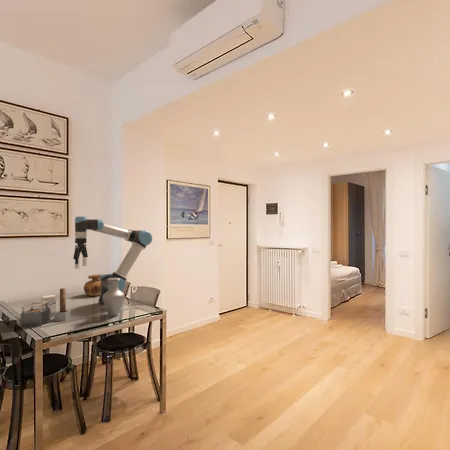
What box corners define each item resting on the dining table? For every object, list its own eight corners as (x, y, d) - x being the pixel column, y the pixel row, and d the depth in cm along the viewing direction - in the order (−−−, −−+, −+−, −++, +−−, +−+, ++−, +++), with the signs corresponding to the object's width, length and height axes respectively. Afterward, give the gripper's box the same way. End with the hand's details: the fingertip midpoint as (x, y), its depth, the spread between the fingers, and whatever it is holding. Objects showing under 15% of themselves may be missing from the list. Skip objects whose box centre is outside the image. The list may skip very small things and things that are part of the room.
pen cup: (70, 317, 212) (70, 309, 212) (65, 320, 205) (65, 312, 205) (59, 317, 211) (59, 310, 211) (54, 320, 204) (54, 313, 204)
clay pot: (94, 295, 267) (88, 272, 271) (82, 301, 276) (76, 279, 280) (113, 291, 283) (107, 269, 287) (101, 296, 292) (95, 276, 297)
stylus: (66, 318, 210) (66, 288, 210) (64, 319, 206) (64, 289, 206) (61, 318, 209) (61, 288, 210) (58, 319, 206) (58, 289, 206)
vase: (97, 316, 213) (97, 279, 213) (112, 311, 226) (112, 276, 227) (115, 318, 208) (114, 280, 208) (129, 313, 221) (128, 277, 221)
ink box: (44, 314, 219) (44, 297, 219) (40, 313, 221) (40, 296, 221) (56, 311, 226) (56, 295, 226) (52, 310, 229) (52, 294, 229)
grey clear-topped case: (50, 320, 205) (50, 301, 205) (40, 326, 193) (40, 305, 193) (31, 320, 204) (31, 301, 205) (20, 326, 193) (20, 306, 193)
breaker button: (40, 317, 201) (40, 309, 201) (37, 319, 197) (37, 311, 197) (34, 317, 201) (34, 309, 201) (30, 319, 197) (30, 311, 197)
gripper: (82, 237, 239) (82, 265, 239) (68, 238, 214) (68, 269, 214) (92, 237, 239) (92, 265, 239) (79, 238, 214) (79, 269, 214)
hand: (80, 267), depth 226 cm, fingers open, 13 cm apart
